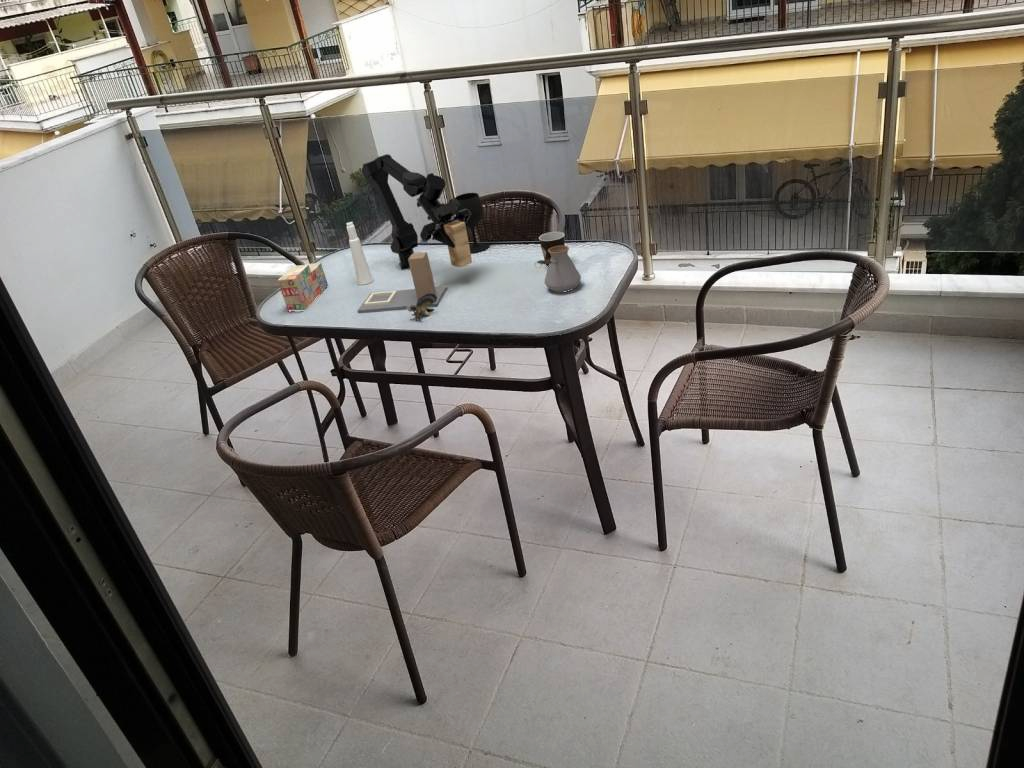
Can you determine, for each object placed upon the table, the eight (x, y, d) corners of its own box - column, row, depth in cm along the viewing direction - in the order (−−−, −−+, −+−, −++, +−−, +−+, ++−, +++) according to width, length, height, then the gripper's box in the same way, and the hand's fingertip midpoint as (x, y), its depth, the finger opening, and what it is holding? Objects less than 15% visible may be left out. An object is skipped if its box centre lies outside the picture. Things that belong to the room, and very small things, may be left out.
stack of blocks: (313, 287, 278) (303, 256, 272) (328, 286, 276) (319, 254, 270) (288, 313, 260) (277, 279, 254) (304, 311, 258) (294, 278, 252)
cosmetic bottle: (358, 286, 271) (341, 227, 260) (356, 281, 276) (339, 222, 265) (375, 282, 272) (359, 222, 261) (372, 277, 277) (356, 218, 266)
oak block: (451, 265, 256) (443, 225, 249) (462, 260, 258) (455, 220, 252) (460, 267, 252) (453, 227, 245) (472, 262, 255) (465, 222, 248)
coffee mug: (568, 267, 255) (565, 238, 250) (543, 270, 255) (538, 242, 251) (567, 255, 265) (563, 227, 260) (542, 258, 266) (538, 231, 261)
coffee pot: (554, 279, 247) (547, 235, 240) (587, 280, 242) (581, 235, 235) (526, 308, 231) (519, 261, 224) (561, 309, 226) (555, 262, 219)
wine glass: (462, 246, 291) (451, 195, 281) (488, 241, 291) (479, 190, 281) (463, 255, 281) (452, 202, 272) (491, 250, 282) (481, 197, 272)
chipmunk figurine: (431, 318, 233) (443, 301, 239) (414, 302, 231) (427, 285, 237) (417, 328, 238) (430, 311, 244) (400, 312, 236) (414, 295, 242)
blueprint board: (371, 295, 261) (360, 254, 254) (447, 288, 255) (437, 246, 248) (358, 313, 249) (346, 270, 242) (436, 306, 243) (426, 262, 236)
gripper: (417, 201, 242) (445, 239, 239) (462, 184, 252) (489, 220, 249) (408, 222, 251) (435, 259, 249) (452, 205, 261) (478, 240, 259)
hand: (460, 244), depth 251 cm, fingers closed on oak block, 5 cm apart
